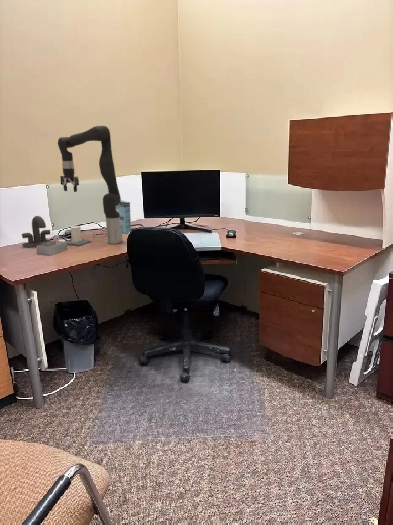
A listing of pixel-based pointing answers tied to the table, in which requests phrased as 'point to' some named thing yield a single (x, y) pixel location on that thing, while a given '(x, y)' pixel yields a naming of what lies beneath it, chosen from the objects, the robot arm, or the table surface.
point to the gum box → (124, 216)
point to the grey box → (51, 248)
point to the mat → (78, 242)
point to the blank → (76, 234)
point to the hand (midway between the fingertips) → (70, 191)
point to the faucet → (36, 233)
